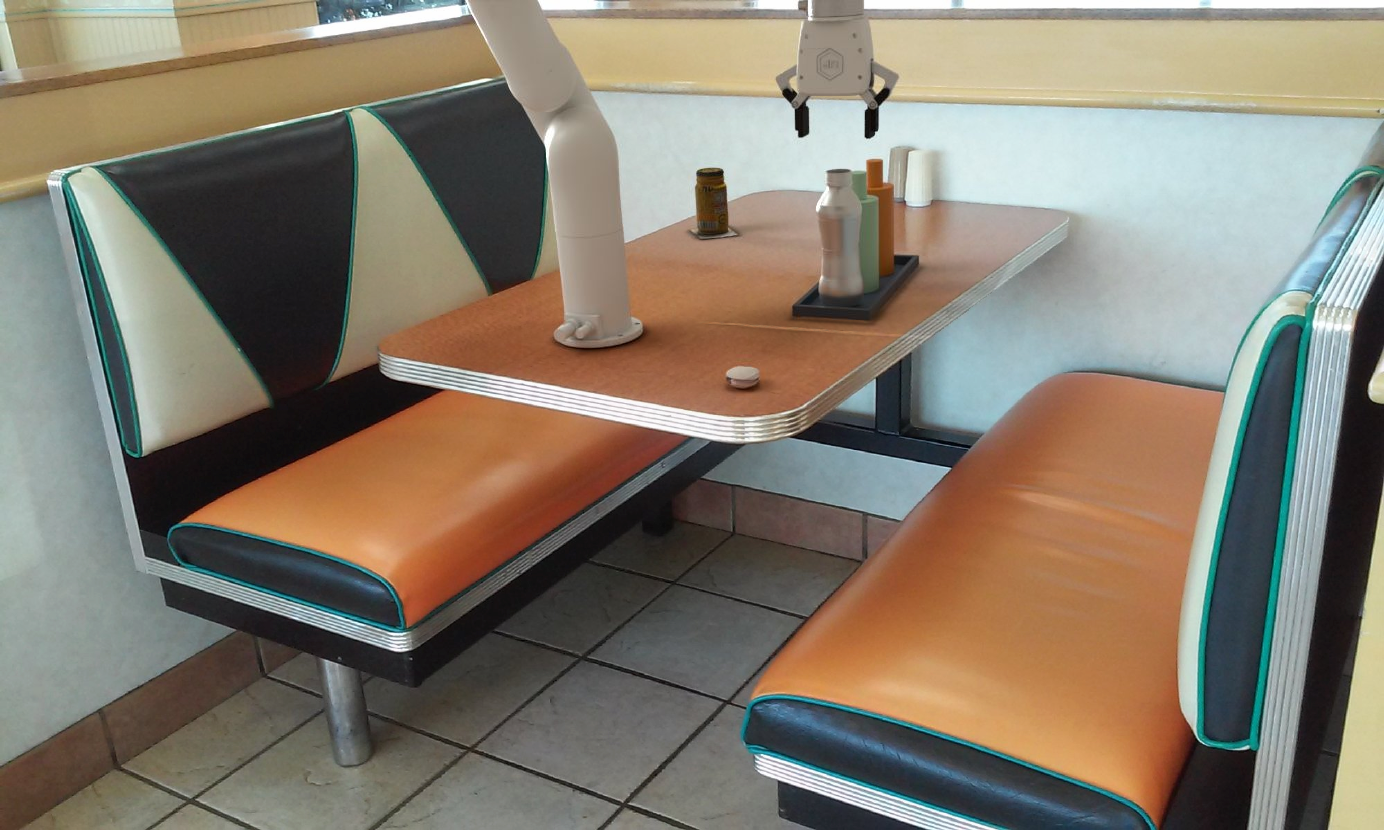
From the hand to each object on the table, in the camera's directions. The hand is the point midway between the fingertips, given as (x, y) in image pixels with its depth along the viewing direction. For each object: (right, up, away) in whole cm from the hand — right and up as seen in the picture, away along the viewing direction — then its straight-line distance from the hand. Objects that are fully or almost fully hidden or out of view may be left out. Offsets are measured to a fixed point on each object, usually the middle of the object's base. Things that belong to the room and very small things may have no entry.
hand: (836, 136), depth 164 cm
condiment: (-16, -4, +60) cm, 62 cm away
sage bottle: (+6, -19, +17) cm, 27 cm away
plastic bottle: (+2, -23, +9) cm, 25 cm away
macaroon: (-13, -35, -17) cm, 41 cm away
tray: (+6, -20, +18) cm, 27 cm away
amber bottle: (+9, -16, +25) cm, 31 cm away
